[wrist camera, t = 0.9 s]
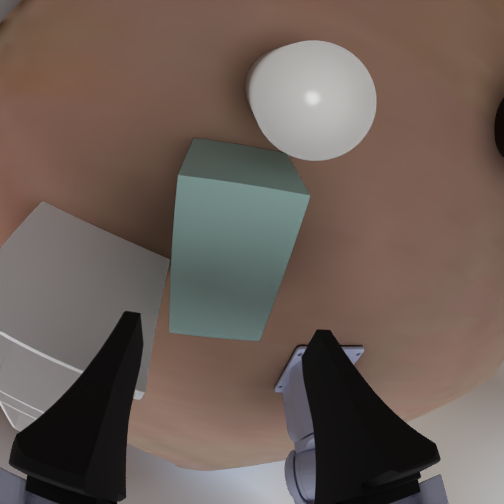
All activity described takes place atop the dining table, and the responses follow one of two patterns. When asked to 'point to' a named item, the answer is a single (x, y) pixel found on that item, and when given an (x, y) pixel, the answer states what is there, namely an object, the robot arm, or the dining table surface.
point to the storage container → (67, 306)
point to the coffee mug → (500, 128)
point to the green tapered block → (232, 238)
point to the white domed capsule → (311, 99)
